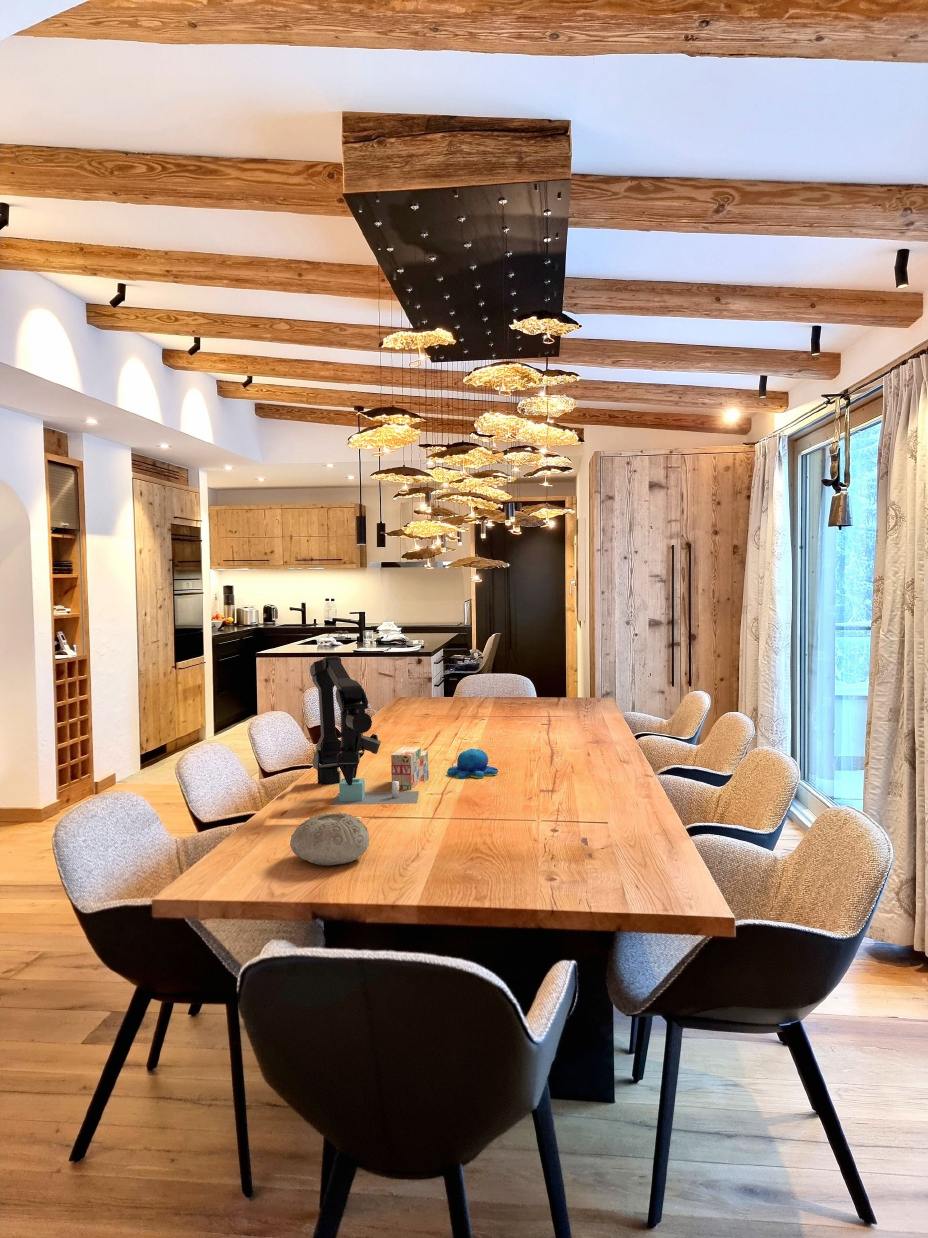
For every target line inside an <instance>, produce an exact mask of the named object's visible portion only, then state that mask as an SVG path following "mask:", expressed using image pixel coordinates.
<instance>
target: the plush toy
mask: <svg viewBox="0 0 928 1238" xmlns="http://www.w3.org/2000/svg"><path fill="white" fill-rule="evenodd" d="M498 772H499V769H498V768H497V767H494V766H489V757H488V754H487V753H486V752H485V751H484V750H482V749H477V748H476V749H475V748H469V749H467V750H464V751H462V752H460V753H459V755H458V757H457V762H456V765H455V766H450V767H449V768H448V769H447V773H446V775H447V776H448V775H449V776H448V777H456V779H457V778H458V779H459V780H464V779H468V778H469V777H471V778H476V779H483V778H485V776H486V777H491V776H497V775H498Z"/></svg>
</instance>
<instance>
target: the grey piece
mask: <svg viewBox="0 0 928 1238" xmlns="http://www.w3.org/2000/svg"><path fill="white" fill-rule="evenodd" d="M419 793H420V791H419V790H417V791H415V790H412V791H411V790H407V791H403V790H402V791H400V789H399V782H398V781H393V782H392V781H391V791H365V796H364V798H363V801H340V795H339V792H338V793H337V795H336V797H335V798H334V799H333V802H332V804H331V806H337V805H338V806H342V805H344V806H345V805H347V806H348V805H349V806H351V805H391V804H392V805H397V804H398V805H399V804H418V800H419V799H418V798H419Z"/></svg>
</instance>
